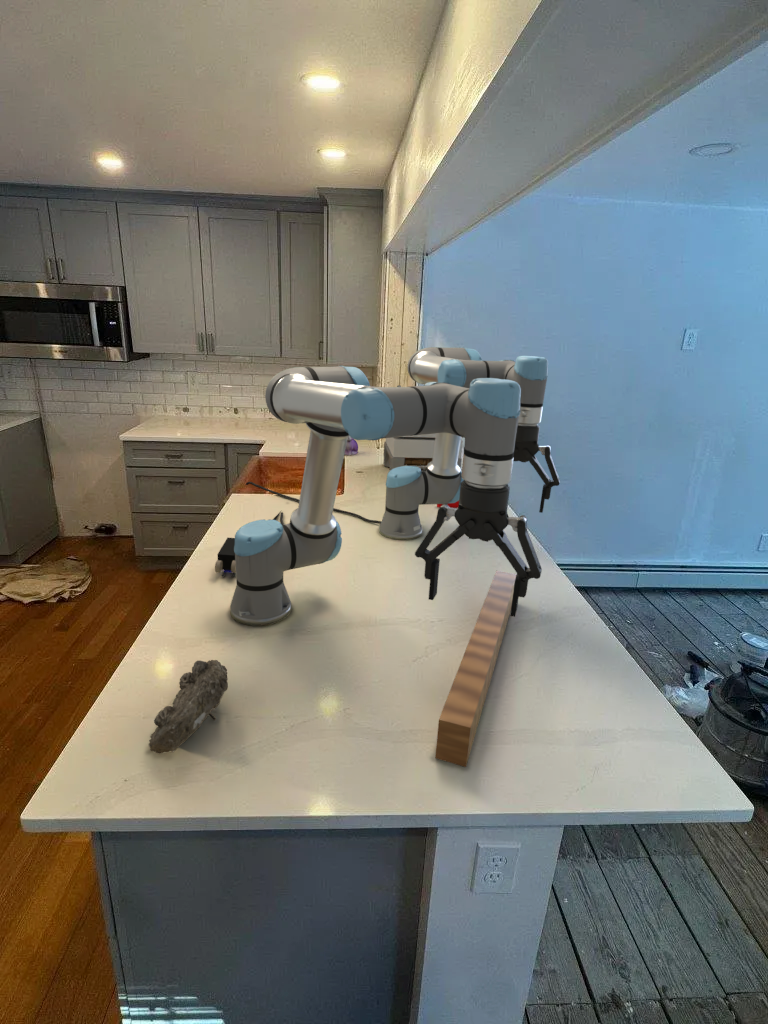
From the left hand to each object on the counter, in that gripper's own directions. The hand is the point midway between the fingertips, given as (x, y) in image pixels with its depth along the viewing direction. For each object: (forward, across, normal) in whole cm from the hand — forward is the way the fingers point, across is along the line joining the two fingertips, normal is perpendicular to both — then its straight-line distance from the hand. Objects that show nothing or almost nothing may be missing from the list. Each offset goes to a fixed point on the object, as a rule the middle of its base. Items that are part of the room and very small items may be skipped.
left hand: (472, 604), depth 94 cm
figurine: (+29, -101, +192) cm, 219 cm away
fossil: (+29, -48, -12) cm, 57 cm away
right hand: (0, 0, +54) cm, 54 cm away
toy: (+29, -37, +141) cm, 149 cm away
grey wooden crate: (+29, -57, +172) cm, 184 cm away
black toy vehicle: (+29, -78, +45) cm, 94 cm away
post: (+29, 0, +27) cm, 40 cm away
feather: (+29, -88, +92) cm, 131 cm away
